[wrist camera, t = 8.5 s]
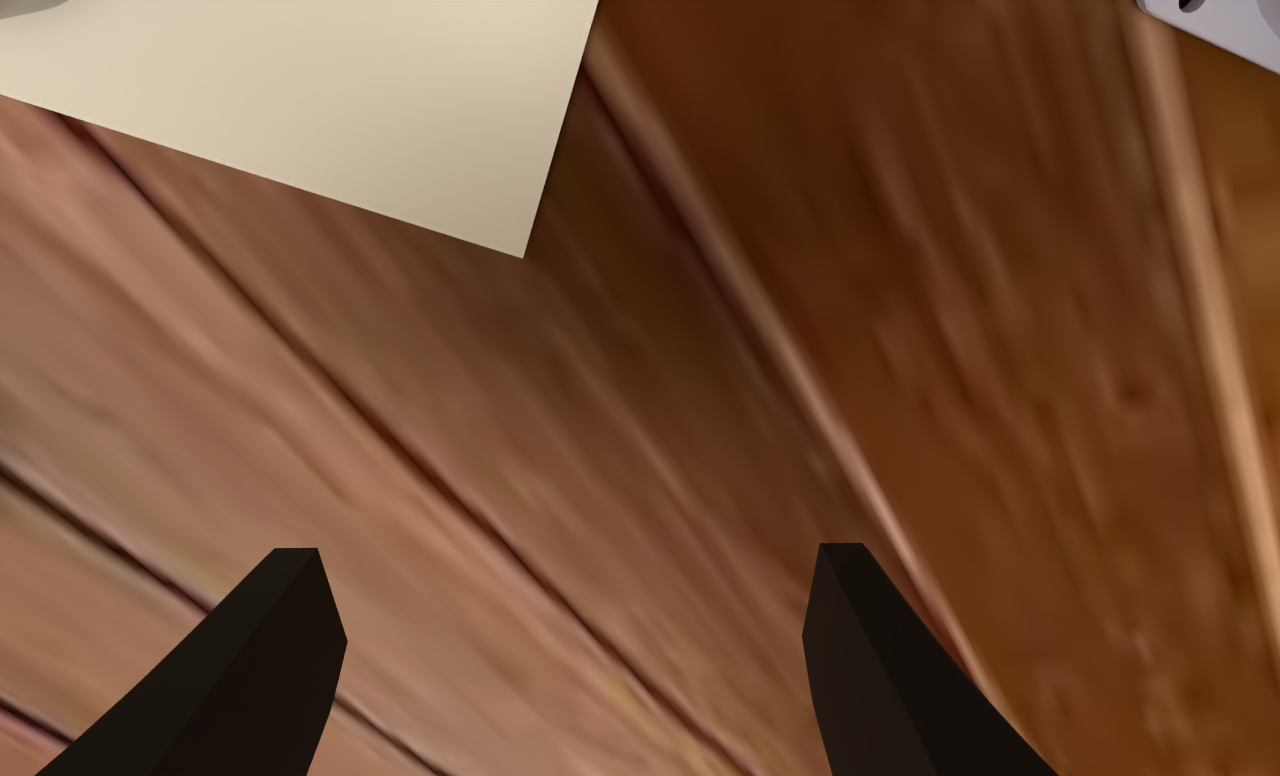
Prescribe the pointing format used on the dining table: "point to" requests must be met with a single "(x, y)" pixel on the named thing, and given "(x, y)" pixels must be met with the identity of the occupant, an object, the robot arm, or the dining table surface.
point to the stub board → (325, 93)
